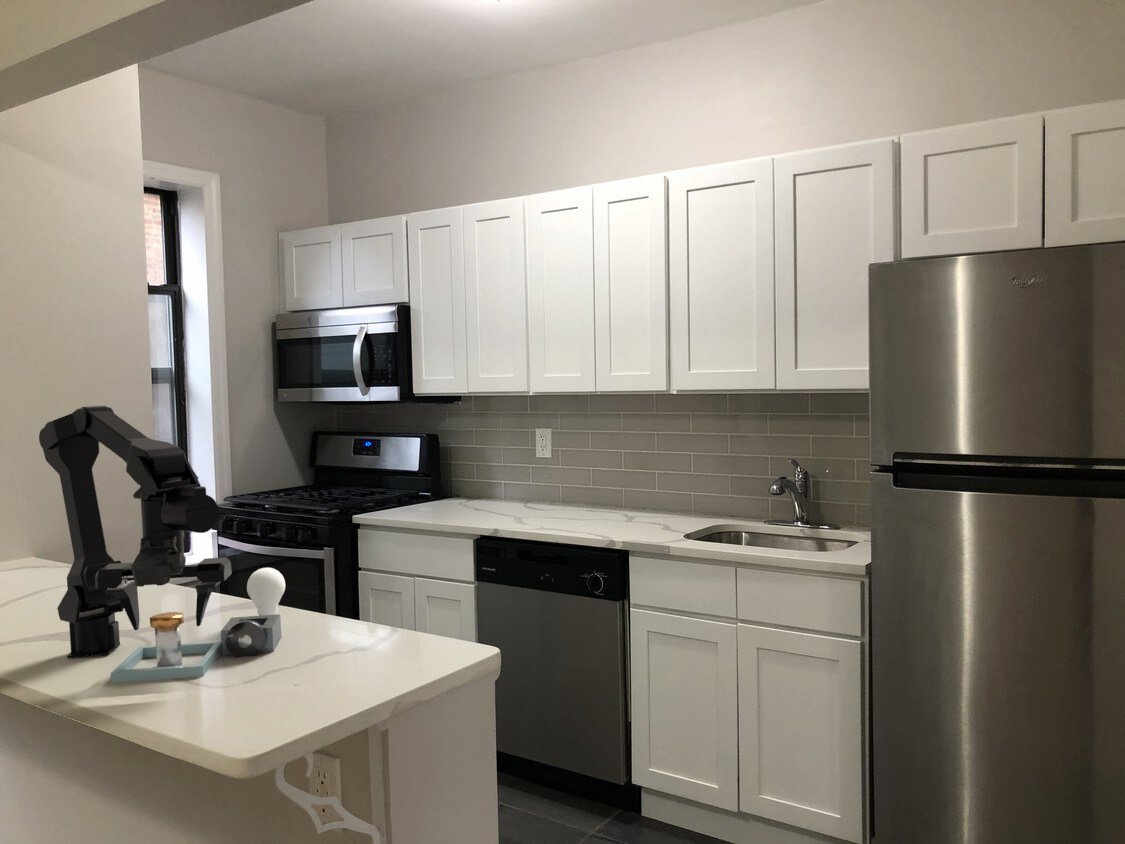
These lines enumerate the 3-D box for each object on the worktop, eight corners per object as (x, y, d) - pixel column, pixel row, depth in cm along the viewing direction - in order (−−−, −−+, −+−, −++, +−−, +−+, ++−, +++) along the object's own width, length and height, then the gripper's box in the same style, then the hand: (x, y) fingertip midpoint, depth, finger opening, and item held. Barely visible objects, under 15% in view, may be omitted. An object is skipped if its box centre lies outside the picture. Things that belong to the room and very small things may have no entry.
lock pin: (149, 674, 139) (145, 621, 138) (158, 664, 143) (155, 613, 143) (181, 671, 139) (178, 618, 139) (190, 661, 144) (187, 610, 144)
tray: (111, 689, 134) (110, 672, 134) (139, 661, 147) (138, 646, 147) (203, 682, 136) (202, 666, 136) (223, 655, 149) (222, 640, 149)
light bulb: (275, 633, 161) (272, 572, 160) (241, 632, 162) (238, 571, 162) (294, 623, 167) (291, 564, 167) (261, 622, 169) (258, 563, 168)
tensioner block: (219, 665, 144) (217, 625, 144) (232, 646, 154) (231, 608, 153) (271, 661, 145) (269, 621, 145) (281, 643, 155) (279, 605, 155)
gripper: (78, 540, 131) (84, 647, 132) (213, 534, 133) (218, 638, 134) (105, 527, 142) (111, 626, 143) (229, 521, 145) (234, 618, 145)
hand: (167, 627), depth 141 cm, fingers open, 9 cm apart
